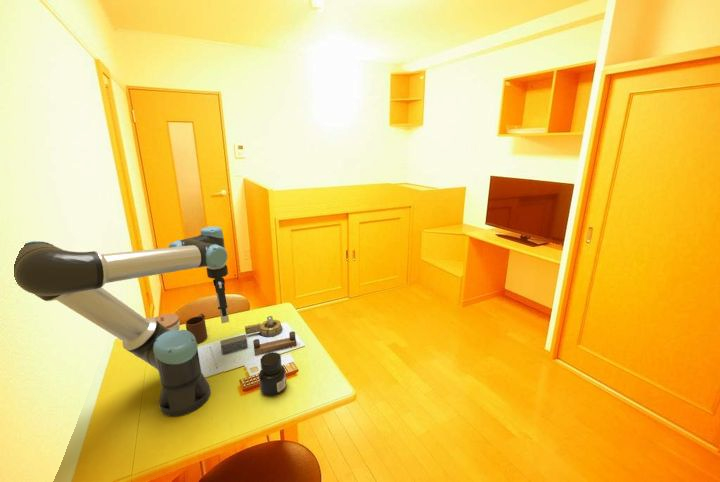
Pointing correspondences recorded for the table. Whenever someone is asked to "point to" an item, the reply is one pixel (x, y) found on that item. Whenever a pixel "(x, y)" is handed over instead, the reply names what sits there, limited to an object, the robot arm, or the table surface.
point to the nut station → (270, 325)
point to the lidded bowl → (169, 321)
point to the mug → (197, 327)
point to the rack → (274, 344)
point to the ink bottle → (272, 375)
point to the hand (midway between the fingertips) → (223, 314)
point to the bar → (233, 344)
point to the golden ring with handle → (263, 328)
